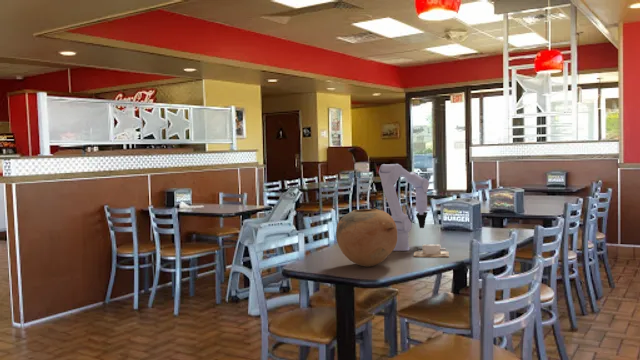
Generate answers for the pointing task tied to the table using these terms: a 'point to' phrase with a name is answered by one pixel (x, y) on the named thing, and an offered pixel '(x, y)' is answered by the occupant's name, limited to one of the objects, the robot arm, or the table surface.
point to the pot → (366, 236)
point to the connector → (431, 249)
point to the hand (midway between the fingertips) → (422, 227)
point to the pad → (420, 254)
